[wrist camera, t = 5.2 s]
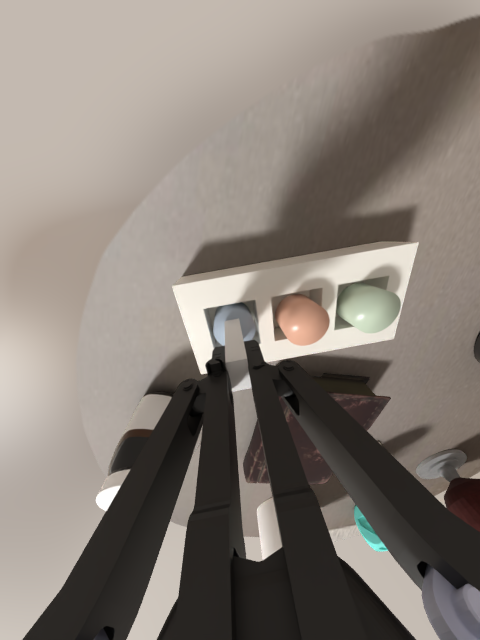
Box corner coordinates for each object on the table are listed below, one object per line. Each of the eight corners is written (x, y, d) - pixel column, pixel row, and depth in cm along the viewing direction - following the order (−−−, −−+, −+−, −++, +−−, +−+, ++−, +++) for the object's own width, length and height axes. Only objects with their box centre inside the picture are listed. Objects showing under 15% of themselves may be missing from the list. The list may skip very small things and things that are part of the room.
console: (380, 241, 21) (418, 242, 17) (366, 322, 26) (393, 338, 22) (181, 276, 21) (171, 286, 17) (204, 352, 25) (201, 374, 21)
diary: (241, 456, 39) (243, 485, 34) (270, 364, 29) (278, 388, 24) (320, 458, 41) (331, 485, 37) (371, 375, 31) (396, 399, 27)
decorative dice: (348, 508, 54) (368, 550, 46) (368, 496, 51) (392, 538, 44) (365, 512, 56) (386, 552, 49) (385, 500, 53) (410, 541, 46)
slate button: (248, 297, 21) (252, 307, 18) (252, 329, 22) (257, 344, 19) (211, 303, 21) (208, 315, 17) (218, 335, 22) (218, 351, 19)
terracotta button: (313, 290, 19) (331, 300, 16) (312, 326, 21) (328, 341, 18) (273, 297, 19) (283, 309, 16) (276, 332, 21) (285, 349, 18)
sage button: (376, 279, 19) (405, 287, 16) (370, 315, 21) (395, 329, 18) (336, 286, 19) (358, 295, 16) (334, 322, 21) (353, 336, 18)
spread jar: (147, 379, 27) (97, 471, 16) (217, 397, 29) (214, 485, 19) (130, 428, 31) (83, 527, 20) (193, 440, 34) (180, 532, 23)
